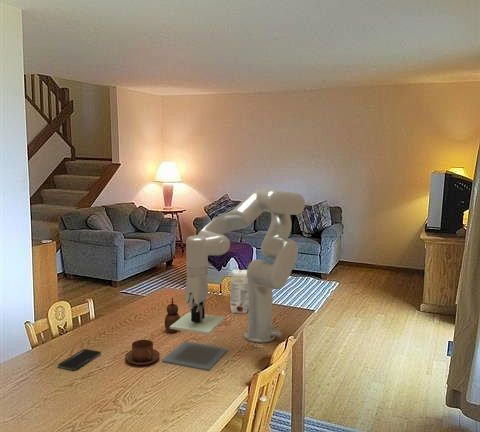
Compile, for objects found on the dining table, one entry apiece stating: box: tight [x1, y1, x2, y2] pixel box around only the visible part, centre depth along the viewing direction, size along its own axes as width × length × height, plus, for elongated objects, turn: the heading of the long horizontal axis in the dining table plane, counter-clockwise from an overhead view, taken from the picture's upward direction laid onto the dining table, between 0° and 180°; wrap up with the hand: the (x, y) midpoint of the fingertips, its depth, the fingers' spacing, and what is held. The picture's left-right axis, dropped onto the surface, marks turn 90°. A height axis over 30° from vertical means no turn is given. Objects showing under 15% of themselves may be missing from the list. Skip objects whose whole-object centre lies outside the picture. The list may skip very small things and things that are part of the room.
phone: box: [57, 348, 102, 372], centre depth 171 cm, size 8×1×15 cm
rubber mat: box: [161, 341, 229, 372], centre depth 177 cm, size 18×18×1 cm
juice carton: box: [229, 269, 249, 314], centre depth 225 cm, size 8×9×19 cm
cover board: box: [170, 304, 226, 335], centre depth 175 cm, size 15×15×7 cm
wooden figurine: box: [164, 296, 181, 333], centre depth 199 cm, size 7×6×15 cm
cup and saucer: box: [124, 339, 161, 366], centre depth 173 cm, size 12×12×6 cm
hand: (198, 319), depth 176 cm, fingers closed on cover board, 3 cm apart
